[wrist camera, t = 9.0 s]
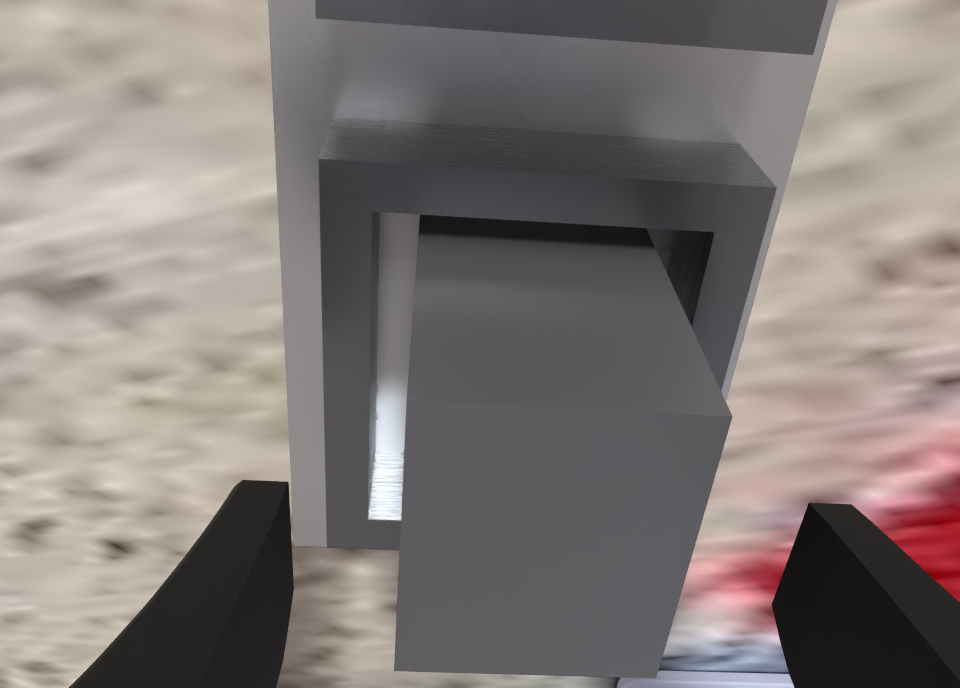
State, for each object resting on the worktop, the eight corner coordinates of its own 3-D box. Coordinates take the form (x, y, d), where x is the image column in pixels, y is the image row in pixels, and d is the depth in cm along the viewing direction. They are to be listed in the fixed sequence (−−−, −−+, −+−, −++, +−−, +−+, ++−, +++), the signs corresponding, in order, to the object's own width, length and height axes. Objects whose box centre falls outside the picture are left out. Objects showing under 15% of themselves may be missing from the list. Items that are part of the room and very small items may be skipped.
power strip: (672, 528, 21) (758, 810, 15) (300, 515, 21) (241, 802, 15) (986, -661, 11) (1643, -1224, 5) (247, -759, 10) (-36, -1536, 4)
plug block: (599, 435, 18) (656, 678, 13) (409, 426, 18) (394, 671, 13) (641, 217, 16) (732, 416, 11) (420, 203, 16) (406, 400, 10)
